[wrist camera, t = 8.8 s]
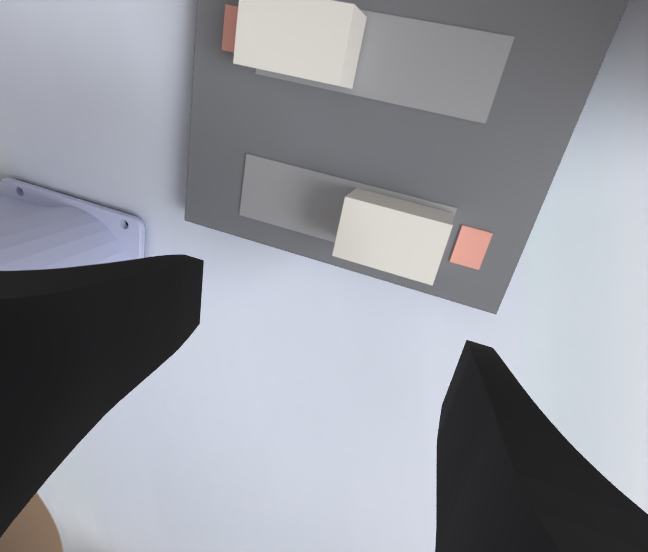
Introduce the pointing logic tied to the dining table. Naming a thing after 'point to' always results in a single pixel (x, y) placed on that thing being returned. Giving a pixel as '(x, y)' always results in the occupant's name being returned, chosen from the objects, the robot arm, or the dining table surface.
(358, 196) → the knob
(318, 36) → the knob
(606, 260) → the dining table surface
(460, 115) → the switch unit
